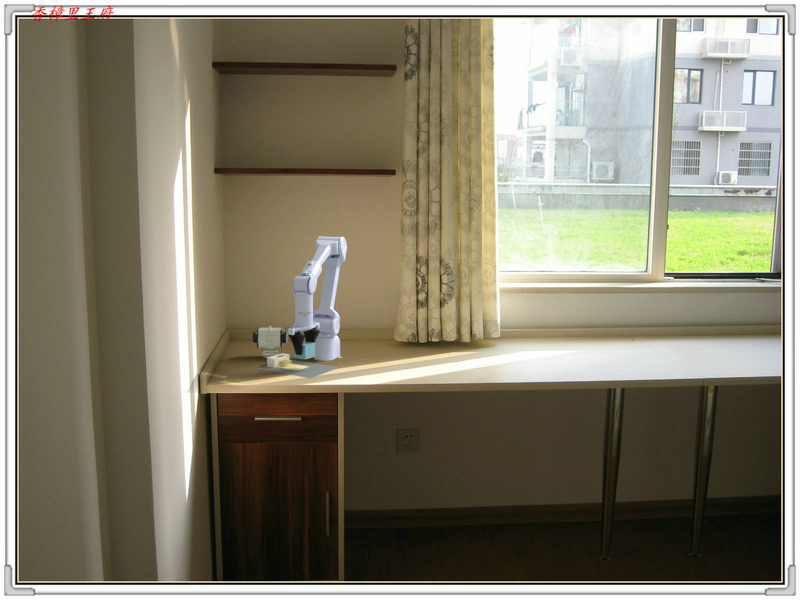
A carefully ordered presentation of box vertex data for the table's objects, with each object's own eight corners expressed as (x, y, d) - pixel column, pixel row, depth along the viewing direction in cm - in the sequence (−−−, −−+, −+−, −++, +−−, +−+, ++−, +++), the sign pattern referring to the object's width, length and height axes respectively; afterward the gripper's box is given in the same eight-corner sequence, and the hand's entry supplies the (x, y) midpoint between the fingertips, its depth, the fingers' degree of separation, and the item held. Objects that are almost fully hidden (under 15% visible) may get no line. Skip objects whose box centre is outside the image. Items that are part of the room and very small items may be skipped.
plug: (304, 354, 233) (304, 341, 232) (315, 356, 231) (315, 343, 230) (293, 357, 228) (294, 343, 228) (305, 359, 226) (305, 345, 225)
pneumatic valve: (255, 357, 249) (254, 324, 247) (287, 357, 249) (287, 324, 248) (252, 361, 243) (251, 327, 242) (286, 361, 244) (285, 327, 242)
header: (282, 361, 240) (282, 352, 239) (296, 364, 237) (296, 355, 236) (267, 366, 233) (267, 357, 232) (281, 368, 230) (281, 359, 230)
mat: (287, 361, 244) (287, 358, 244) (339, 369, 233) (339, 367, 233) (257, 370, 230) (257, 368, 230) (310, 380, 219) (310, 377, 219)
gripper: (307, 308, 236) (308, 347, 238) (280, 314, 223) (280, 355, 225) (324, 310, 232) (324, 349, 234) (297, 316, 220) (297, 358, 222)
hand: (304, 352), depth 229 cm, fingers closed on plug, 5 cm apart
